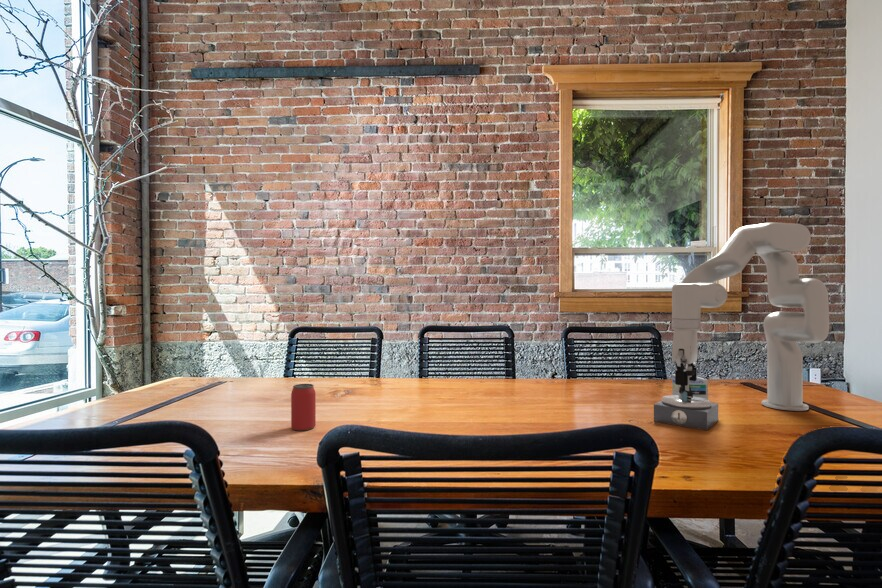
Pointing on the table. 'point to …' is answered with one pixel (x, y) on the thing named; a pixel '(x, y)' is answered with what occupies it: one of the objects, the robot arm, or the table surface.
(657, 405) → the scale
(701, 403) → the scale pan
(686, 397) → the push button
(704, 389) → the light bulb box
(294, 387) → the beer can
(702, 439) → the table surface
